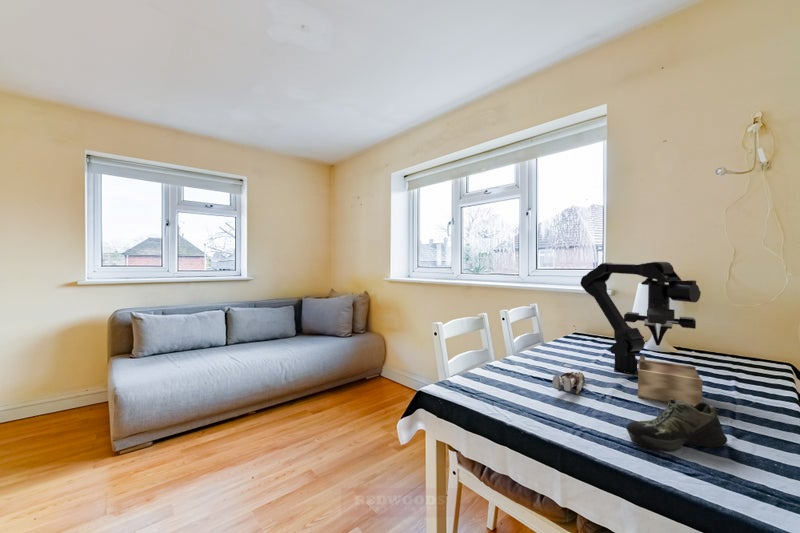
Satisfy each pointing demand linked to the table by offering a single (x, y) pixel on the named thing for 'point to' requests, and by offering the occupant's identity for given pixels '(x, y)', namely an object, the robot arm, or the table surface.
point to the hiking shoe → (679, 428)
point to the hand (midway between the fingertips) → (657, 345)
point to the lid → (666, 369)
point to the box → (669, 385)
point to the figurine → (569, 381)
